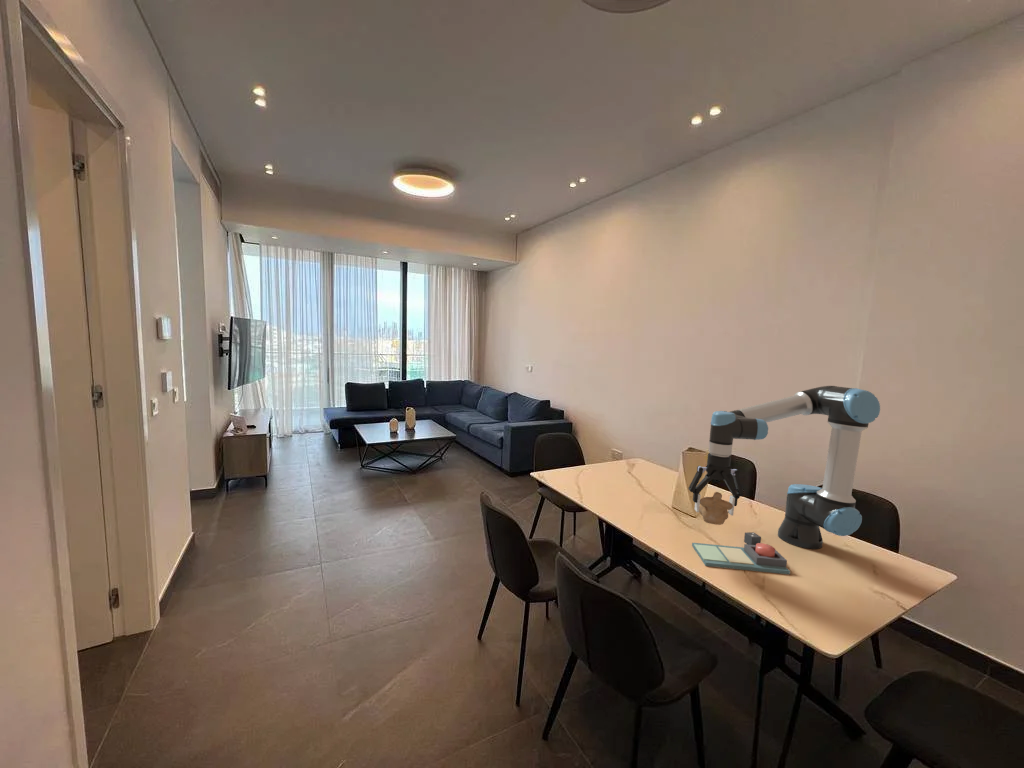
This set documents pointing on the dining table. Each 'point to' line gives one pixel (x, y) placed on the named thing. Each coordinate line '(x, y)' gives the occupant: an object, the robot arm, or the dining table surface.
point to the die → (752, 538)
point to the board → (740, 558)
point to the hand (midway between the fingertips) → (713, 512)
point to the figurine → (714, 509)
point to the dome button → (765, 550)
